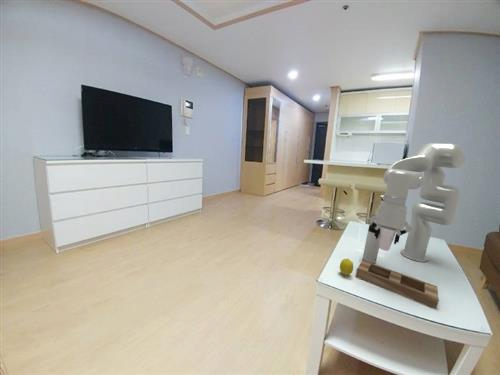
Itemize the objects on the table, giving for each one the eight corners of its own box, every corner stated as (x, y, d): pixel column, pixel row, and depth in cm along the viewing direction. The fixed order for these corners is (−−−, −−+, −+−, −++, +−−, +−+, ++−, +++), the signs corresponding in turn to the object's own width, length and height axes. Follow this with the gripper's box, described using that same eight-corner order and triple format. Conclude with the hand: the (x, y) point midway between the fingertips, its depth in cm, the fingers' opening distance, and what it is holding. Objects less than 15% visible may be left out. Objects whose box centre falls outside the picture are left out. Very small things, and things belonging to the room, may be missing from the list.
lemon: (336, 271, 100) (339, 255, 98) (347, 271, 100) (350, 255, 99) (342, 278, 94) (345, 261, 93) (354, 278, 95) (357, 262, 93)
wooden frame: (360, 267, 105) (362, 259, 104) (434, 294, 88) (437, 286, 87) (355, 276, 97) (357, 268, 96) (436, 309, 80) (438, 299, 79)
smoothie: (392, 253, 89) (400, 221, 86) (375, 249, 92) (381, 218, 89) (392, 248, 94) (399, 218, 91) (375, 244, 97) (381, 214, 95)
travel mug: (378, 265, 108) (386, 228, 104) (364, 263, 109) (371, 226, 105) (373, 259, 114) (381, 224, 110) (360, 257, 115) (367, 222, 111)
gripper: (369, 197, 91) (362, 236, 95) (420, 206, 81) (409, 250, 84) (372, 195, 97) (365, 232, 100) (420, 203, 87) (410, 245, 90)
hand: (385, 240), depth 92 cm, fingers closed on smoothie, 6 cm apart
